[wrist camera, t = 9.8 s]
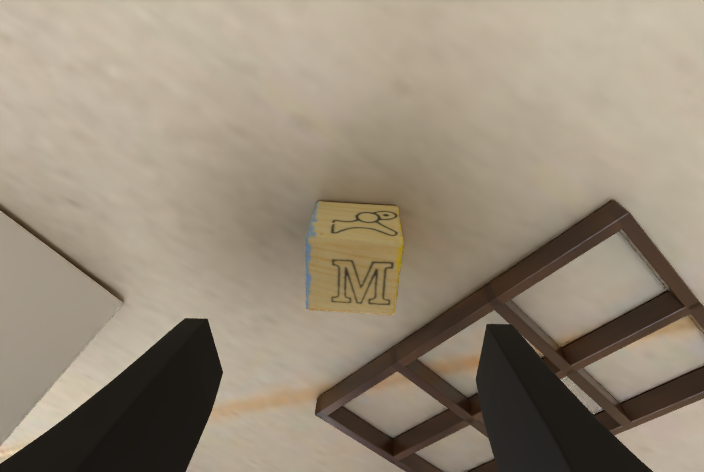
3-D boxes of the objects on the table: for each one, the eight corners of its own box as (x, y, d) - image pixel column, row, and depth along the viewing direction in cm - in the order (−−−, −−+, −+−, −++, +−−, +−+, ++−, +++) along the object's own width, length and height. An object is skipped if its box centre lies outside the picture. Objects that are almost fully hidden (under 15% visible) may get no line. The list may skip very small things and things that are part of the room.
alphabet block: (316, 196, 14) (303, 237, 12) (399, 202, 14) (404, 245, 12) (316, 263, 16) (304, 313, 13) (391, 269, 16) (394, 320, 13)
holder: (451, 484, 24) (454, 502, 23) (316, 397, 20) (314, 415, 20) (739, 358, 17) (758, 376, 16) (613, 199, 14) (629, 211, 13)
